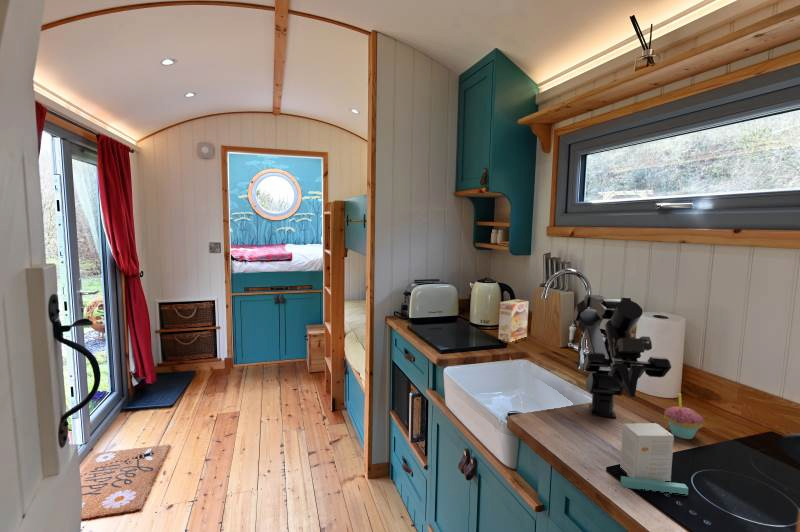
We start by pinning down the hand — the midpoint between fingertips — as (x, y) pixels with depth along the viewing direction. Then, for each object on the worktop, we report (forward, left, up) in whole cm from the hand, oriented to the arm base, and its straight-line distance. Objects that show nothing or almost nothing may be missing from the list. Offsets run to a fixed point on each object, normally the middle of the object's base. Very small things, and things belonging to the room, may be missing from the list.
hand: (632, 397), depth 96 cm
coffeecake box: (-92, -32, -14) cm, 99 cm away
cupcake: (-14, +15, -14) cm, 25 cm away
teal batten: (+15, +2, -13) cm, 20 cm away
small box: (+10, +1, -14) cm, 17 cm away
